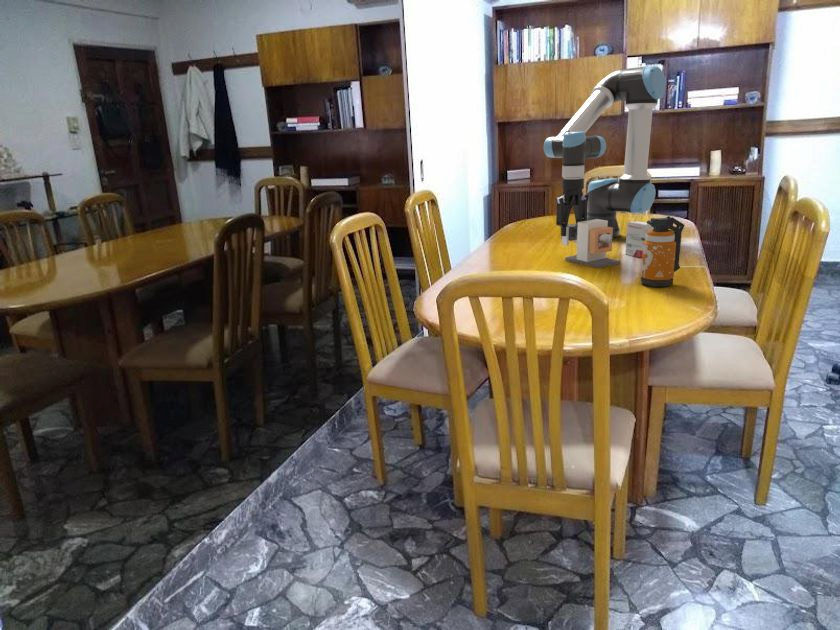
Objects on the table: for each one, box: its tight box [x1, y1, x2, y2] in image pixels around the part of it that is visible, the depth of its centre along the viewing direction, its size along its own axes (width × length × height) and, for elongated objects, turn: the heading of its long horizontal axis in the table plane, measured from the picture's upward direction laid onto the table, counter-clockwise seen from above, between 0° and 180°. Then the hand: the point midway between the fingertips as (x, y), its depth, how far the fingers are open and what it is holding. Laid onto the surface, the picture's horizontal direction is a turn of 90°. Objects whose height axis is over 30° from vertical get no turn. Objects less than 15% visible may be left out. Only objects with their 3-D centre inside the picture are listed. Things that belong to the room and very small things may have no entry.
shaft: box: [560, 223, 614, 244], centre depth 214 cm, size 20×5×5 cm, turn 30°
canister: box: [640, 215, 686, 288], centre depth 180 cm, size 9×11×20 cm
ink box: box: [624, 220, 654, 259], centre depth 218 cm, size 8×5×12 cm, turn 26°
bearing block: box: [564, 219, 621, 269], centre depth 212 cm, size 16×10×14 cm, turn 30°
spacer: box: [589, 227, 613, 254], centre depth 208 cm, size 2×8×8 cm, turn 120°
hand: (571, 243), depth 221 cm, fingers closed on shaft, 5 cm apart
